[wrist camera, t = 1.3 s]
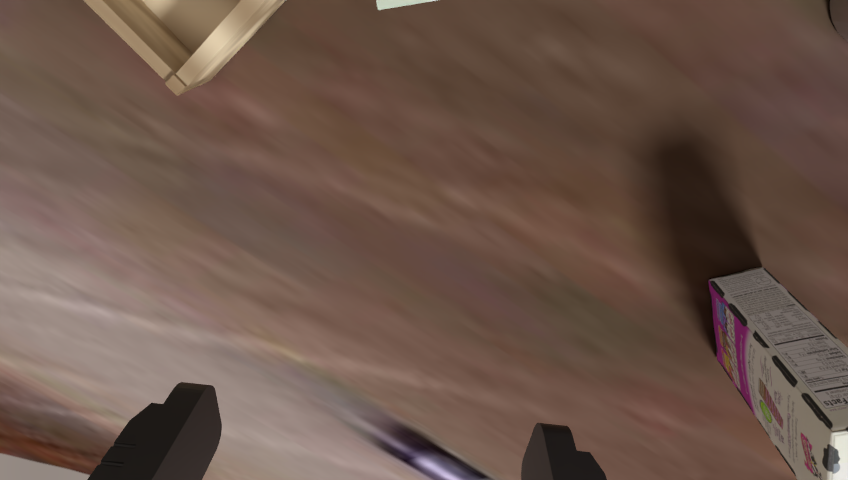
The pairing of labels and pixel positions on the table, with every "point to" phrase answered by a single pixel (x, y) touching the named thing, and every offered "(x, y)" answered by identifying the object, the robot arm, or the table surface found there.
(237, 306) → the table surface
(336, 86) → the table surface
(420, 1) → the box
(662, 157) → the table surface
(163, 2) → the wooden tray
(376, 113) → the table surface
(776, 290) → the candy bar box
